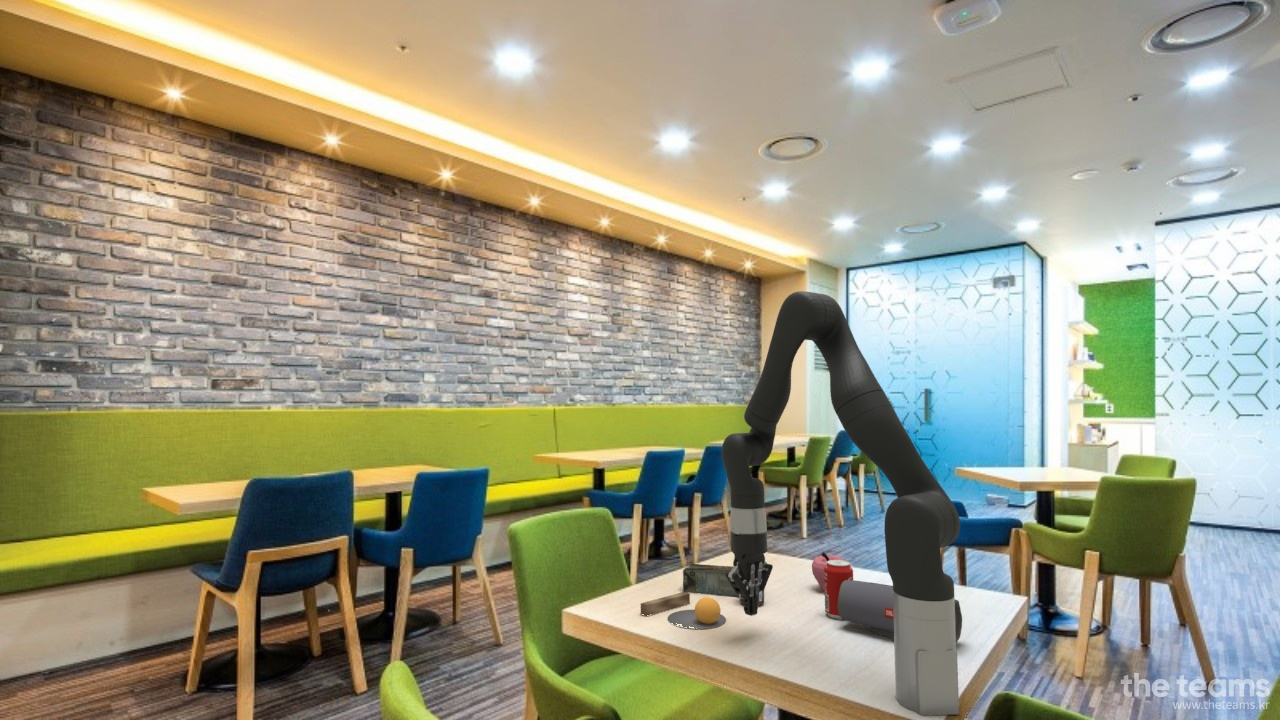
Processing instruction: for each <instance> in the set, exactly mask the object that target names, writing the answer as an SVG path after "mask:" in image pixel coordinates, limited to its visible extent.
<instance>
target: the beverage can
mask: <svg viewBox="0 0 1280 720" xmlns="http://www.w3.org/2000/svg"><path fill="white" fill-rule="evenodd" d="M845 580H854V569H853V568H852V566H851V562H849V561H846V560H844V561H843V560H829V561H827V565H826V566H825V567H824V586H825V591H824V611H825V613H826V614H827V615H828V617H829V616H830V618H831V617H832V618H831V619H834V618H836V619H835V620H839V619H842V618H841V617H840V615H839V612H838V607H837V604H838V597H839V591H840V587H841V584H842V583H843V581H845ZM844 621H845V619H844Z"/></svg>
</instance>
